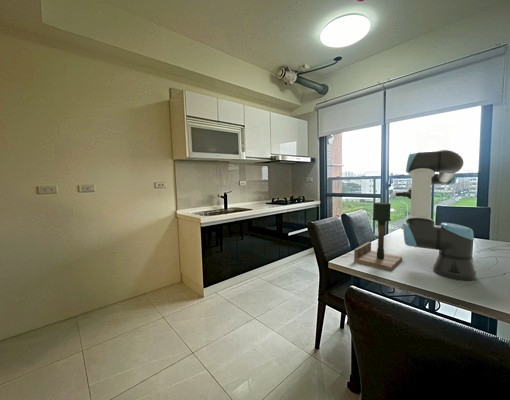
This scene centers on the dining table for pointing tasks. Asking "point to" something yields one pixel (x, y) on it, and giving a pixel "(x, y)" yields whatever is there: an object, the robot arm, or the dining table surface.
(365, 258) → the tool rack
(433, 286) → the dining table surface
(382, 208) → the stick grenade
